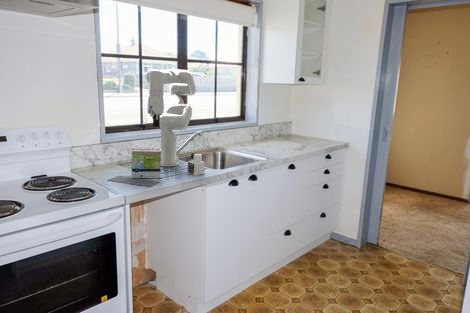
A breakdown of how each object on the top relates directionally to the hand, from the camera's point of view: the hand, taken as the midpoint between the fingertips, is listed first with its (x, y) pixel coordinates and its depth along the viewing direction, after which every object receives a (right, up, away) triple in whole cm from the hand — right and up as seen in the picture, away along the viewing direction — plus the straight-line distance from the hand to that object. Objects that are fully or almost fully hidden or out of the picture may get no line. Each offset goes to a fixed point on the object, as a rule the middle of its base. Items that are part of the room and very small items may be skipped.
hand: (156, 126), depth 203 cm
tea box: (-5, -28, -4) cm, 28 cm away
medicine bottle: (+21, -27, +7) cm, 35 cm away
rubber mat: (-8, -30, -14) cm, 34 cm away
